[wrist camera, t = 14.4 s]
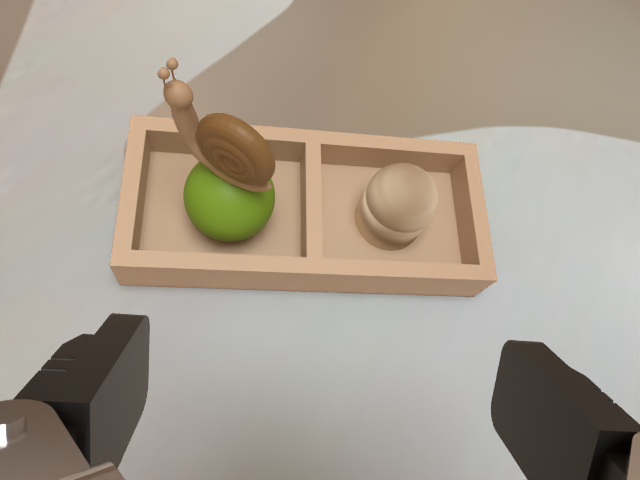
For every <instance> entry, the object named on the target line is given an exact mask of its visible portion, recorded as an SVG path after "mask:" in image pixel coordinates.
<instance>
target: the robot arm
mask: <svg viewBox="0 0 640 480" xmlns="http://www.w3.org/2000/svg"><path fill="white" fill-rule="evenodd" d="M149 333H150V324H149V318H148V316H145V315H130V314H115V313H112V314H111V315H110V316H109V317H108V318H107V319H106V321H105V322H104V323H103V324H102V326H101V327H100V328H99V330H98V331H97V332H96V333H95V335H92V334H82V335H80V336H78V337H76V338H74V339H72V340H70V341H68V342H66V343H64V344H62V346H61V347H60V348H59V349H58V350H57V351H56V352H55V353H54V354H53V356H52V357H51V360H48V361H47V362H46V363H45V364H44V366H43V367H42V368H41V371H38V372H37V373H36V374H35V376H34V377H33V378H32V379H31V380H30V381H29V382H28V383H27V384H26V386H25V387H24V388H23V389H22V390H21V391H20V392H19V393H18V394H17V396H16V397H15V398H14V399H13V400H5V401H0V480H125V479H124V478H123V476H122V475H121V473H120V472H119V470H118V466H119V464H120V462H121V460H122V457H123V455H124V453H125V451H126V448H127V446H128V444H129V442H130V439H131V437H132V435H133V433H134V430H135V428H136V426H137V424H138V421H139V419H140V417H141V415H142V412H143V410H144V406H145V402H146V397H147V391H148V373H149ZM491 416H492V422H493V425H494V428H495V430H496V432H497V433H498V435H499V436H500V438H501V439H502V441H503V443H504V444H505V446H506V447H507V449H508V450H509V452H510V453H511V455H512V456H513V458H514V459H515V461H516V462H517V464H518V466H519V467H520V469H521V470H522V472H523V473H524V475H525V476H526V478H527V479H528V480H640V425H639V424H638V423H637V422H636V421H635V420H634V419H633V418H632V417H631V416H630V415H628V414H627V413H626V412H625V411H624V410H623V409H622V408H621V407H620V406H618V405H617V404H616V403H613V400H612V399H611V398H610V397H608V396H607V395H606V394H605V393H604V392H601V389H600V388H598V387H597V386H596V385H595V384H594V383H593V382H592V381H591V380H590V379H589V378H587V377H586V376H585V375H583V374H581V373H579V372H577V371H576V370H574V369H572V368H570V367H569V366H568V365H567V364H565V363H564V362H563V361H562V360H561V359H560V358H559V357H558V356H557V355H556V354H555V353H554V352H552V351H551V350H550V349H549V348H548V347H547V346H546V345H545V344H544V343H542V342H531V341H516V340H509V341H507V342H506V343H505V344H504V346H503V349H502V352H501V357H500V362H499V367H498V372H497V377H496V382H495V387H494V392H493V397H492V402H491Z"/></svg>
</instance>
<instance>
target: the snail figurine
mask: <svg viewBox="0 0 640 480" xmlns="http://www.w3.org/2000/svg"><path fill="white" fill-rule="evenodd" d="M166 66H167V68H168V69H170V70H171V72H172V77H173V80H172V81H169V82H168V83H166V84H165V79H168V78H169V76H170V72H169V70H168V69H167V68H165V67H162V68H160V69H159V71H158V77H159V78H160V79H163V83H164V98H165V100H166V102H167V103H168V104H169V106H170V108H171V112H172V117H173V120H174V123H175V125H176V128H177V130H178V132H179V134H180V136H181V138H182V140H183V141H184V143H185V145H186V146H187V148H188V149H189V151H190V152H191V153H192V155H193V156H194V157H195V158H196V159H197V160H198V161H199V162H198V163H197V164H196V165H195V166H194V167H193V169H192V170H191V171H190V173H189V175H188V177H187V179H186V182H185V186H184V192H183V200H184V206H185V210H186V212H187V215H188V217H189V219H190V220H191V222H192V223H193V224H194V226H195V227H196V228H197V229H198V230H199V231H201V232H202V233H203V234H205V235H207V236H208V237H210V238H213V239H216V240H219V241H225V242H234V241H240V240H244V239H247V238H249V237H251V236H253V235H255V234H256V233H257V232H259V231H260V230H261V229H262V228H263V227H264V226H265V225H266V223H267V222H268V220H269V219H270V217H271V215H272V212H273V209H274V204H275V189H274V185H273V182H272V179H271V178H272V176H273V174H274V172H275V158H274V155H273V152H272V150H271V148H270V146H269V145H268V143H267V142H266V141H265V139H264V138H263V137H262V136H261V135H260V134H259V133H258V132H257V131H256V130H255V129H254V128H253V127H251V126H250V125H249V124H247V123H245V122H244V121H242V120H240V119H239V118H236V117H234V116H231V115H228V114H224V113H213V114H209V115H207V116H205V117H204V118H203V119H201V120H200V122H199V120H198V117H197V114H196V112H195V110H194V107H193V105H192V101H193V93H192V90H191V89H190V87H189V86H188V85H187V84H186V83H185V82H183V81H180V80H176V79H175V77H174V74H173V70H175V69H176V68H177V67H178V62H177V60H176V59H175V58H169V59H168V60H167V62H166Z"/></svg>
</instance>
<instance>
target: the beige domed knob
mask: <svg viewBox="0 0 640 480" xmlns="http://www.w3.org/2000/svg"><path fill="white" fill-rule="evenodd" d="M437 206H438V192H437V188H436V185H435V183H434V181H433V179H432V178H431V177H430V175H429V174H428V173H427V172H426V171H424V170H423V169H422V168H420V167H418V166H416V165H413V164H409V163H395V164H391V165H388V166H386V167H384V168H382V169H381V170H379V171H378V172H377V173H376V174H375V175H374V176H373V177H372V179H371V180H370V182H369V183H368V185H367V187H366V189H365V191H364V193H363V195H362V197H361V199H360V200H359V202H358V204H357V206H356V210H355V222H356V226H357V228H358V231H359V232H360V234H361V235H362V237H363V238H364V239H365V240H366V241H367V242H369V243H370V244H371V245H373V246H375V247H377V248H380V249H383V250H389V251H394V250H400V249H403V248H405V247H407V246H409V245H410V244H411V243H412V242H413V241H414V240H415V239H416V238H417V236H418V235H419V234H420V233H421V232H422V231H423V230H424V228H425V227H426V226H427V225H428V224H429V223H430V221H431V220H432V218H433V217H434V215H435V213H436V210H437Z"/></svg>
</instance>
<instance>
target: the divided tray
mask: <svg viewBox="0 0 640 480" xmlns="http://www.w3.org/2000/svg"><path fill="white" fill-rule="evenodd" d="M199 122H200V121H199ZM250 126H251V127H253V128H254V129H255V130H256V131H257V132H258V133H259V134H260V135H261V136H262V137H263V138H264V139H265V141H266V142H267V143H268V145H269V146H270V148H271V150H272V152H273V155H274V158H275V172H274V174H273V176H272V178H271V179H272V182H273V185H274V189H275V204H274V209H273V212H272V215H271V217H270V219H269V220H268V222H267V223H266V225H265V226H264V227H263V228H262V229H261V230H260V231H259V232H257V233H256V234H255V235H253V236H251V237H249V238H247V239H244V240H240V241H234V242H225V241H219V240H216V239H213V238H210V237H208V236H207V235H205V234H203V233H202V232H201V231H199V230H198V229H197V228H196V227H195V226H194V224H193V223H192V222H191V220H190V219H189V217H188V215H187V212H186V210H185V206H184V200H183V192H184V186H185V182H186V179H187V177H188V175H189V173H190V171H191V170H192V169H193V167H194V166H195V165H196V164H197V163H198V162H199V161H198V160H197V159H196V158H195V157H194V156H193V155H192V153H191V152H190V151H189V149H188V148H187V146H186V145H185V143H184V141H183V140H182V138H181V136H180V134H179V132H178V130H177V128H176V125H175V123H174V120H173V118H161V117H149V116H137V115H131V119H130V126H129V133H128V140H127V148H126V155H125V162H124V169H123V176H122V183H121V190H120V198H119V205H118V212H117V219H116V226H115V233H114V241H113V248H112V255H111V262H110V267H111V269H112V270H113V272H114V274H115V276H116V278H117V280H118V281H119V283H120V285H132V286H162V287H193V288H223V289H254V290H285V291H315V292H346V293H376V294H407V295H438V296H468V297H473V296H475V295H476V294H478V293H479V292H481V291H482V290H484V289H485V288H487V287H488V286H490V285H491V284H493V283H494V282H496V281H497V276H496V269H495V263H494V256H493V250H492V243H491V237H490V231H489V224H488V218H487V211H486V205H485V198H484V192H483V185H482V179H481V172H480V166H479V160H478V153H477V147H476V144H473V143H461V142H449V141H437V140H425V139H413V138H401V137H389V136H377V135H365V134H353V133H341V132H329V131H317V130H304V129H293V128H281V127H269V126H257V125H250ZM395 163H409V164H413V165H416V166H418V167H420V168H422V169H423V170H424V171H426V172H427V173H428V174H429V175H430V177H431V178H432V179H433V181H434V183H435V185H436V188H437V192H438V206H437V210H436V213H435V215H434V217H433V218H432V220H431V221H430V223H429V224H428V225H427V226H426V227H425V228H424V230H423V231H422V232H421V233H420V234H419V235H418V236H417V238H416V239H415V240H414V241H413V242H412V243H411V244H410V245H409V246H407V247H405V248H403V249H400V250H394V251H389V250H383V249H380V248H377V247H375V246H373V245H371V244H370V243H369V242H367V241H366V240H365V239H364V238H363V237H362V235H361V234H360V232H359V231H358V228H357V226H356V222H355V210H356V206H357V204H358V202H359V200H360V199H361V197H362V195H363V193H364V191H365V189H366V187H367V185H368V183H369V182H370V180H371V179H372V177H373V176H374V175H375V174H376V173H377V172H378V171H379V170H381V169H382V168H384V167H386V166H388V165H391V164H395Z"/></svg>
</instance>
